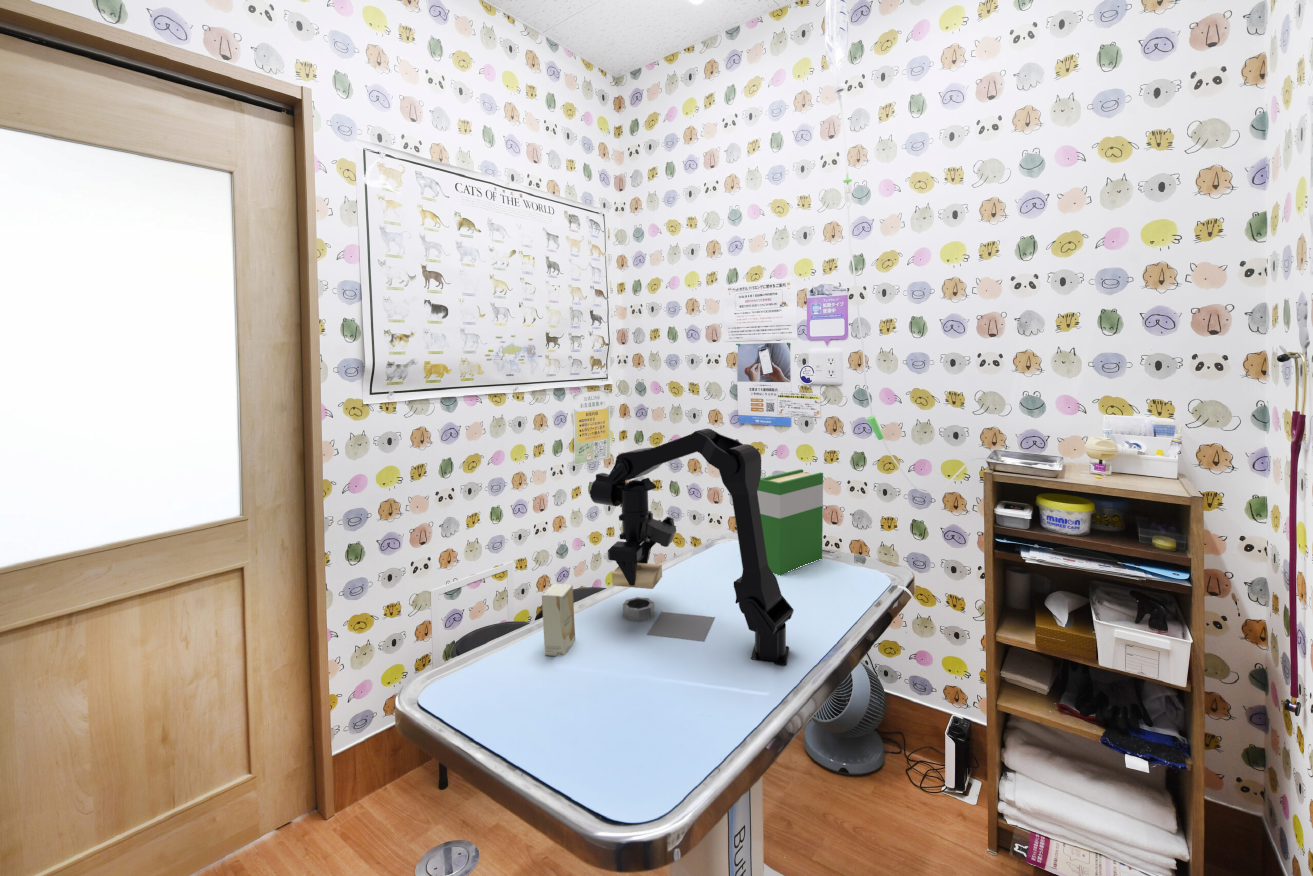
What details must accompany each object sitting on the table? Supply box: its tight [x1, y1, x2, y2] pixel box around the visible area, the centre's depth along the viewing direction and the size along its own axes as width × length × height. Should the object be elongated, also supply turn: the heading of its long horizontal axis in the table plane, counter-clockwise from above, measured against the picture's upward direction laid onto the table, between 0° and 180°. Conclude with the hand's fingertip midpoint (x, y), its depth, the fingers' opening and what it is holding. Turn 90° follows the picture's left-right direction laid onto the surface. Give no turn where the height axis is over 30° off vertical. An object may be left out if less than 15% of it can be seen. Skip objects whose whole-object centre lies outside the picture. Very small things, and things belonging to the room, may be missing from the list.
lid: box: [611, 563, 663, 590], centre depth 128 cm, size 7×9×3 cm
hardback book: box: [757, 468, 824, 576], centre depth 157 cm, size 18×7×24 cm, turn 128°
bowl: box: [622, 596, 655, 623], centre depth 129 cm, size 6×6×3 cm
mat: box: [646, 611, 716, 642], centre depth 123 cm, size 11×12×1 cm
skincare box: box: [541, 583, 576, 657], centre depth 115 cm, size 6×4×12 cm
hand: (637, 578), depth 128 cm, fingers closed on lid, 7 cm apart
